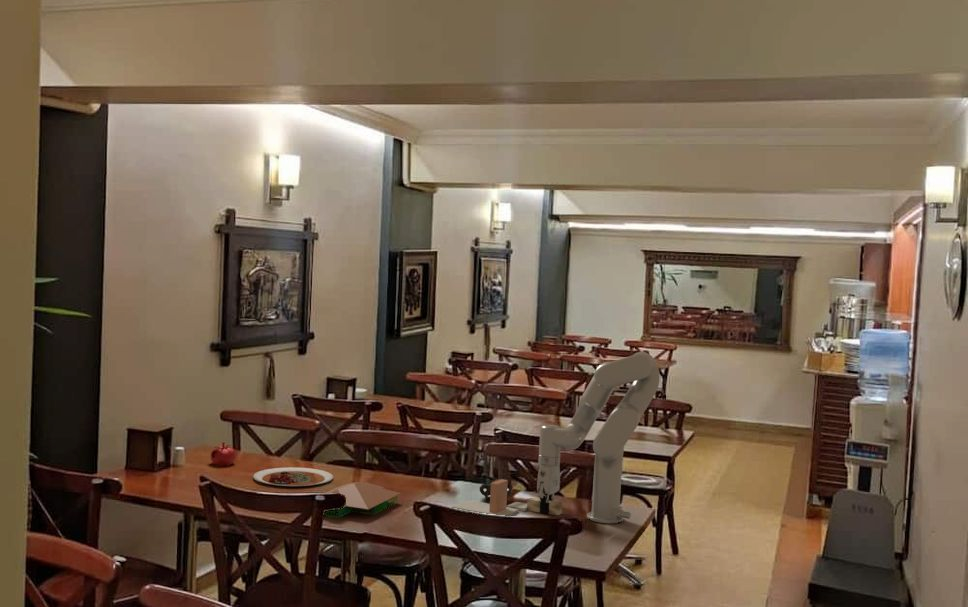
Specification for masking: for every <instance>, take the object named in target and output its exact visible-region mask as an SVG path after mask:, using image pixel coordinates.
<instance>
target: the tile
mask: <svg viewBox="0 0 968 607" xmlns="http://www.w3.org/2000/svg"><path fill="white" fill-rule="evenodd" d="M499 479H500V478H499ZM494 481H495V480H494ZM494 481H492V482H490V483H491V491H490V495H489V504H490V509H489V512H492V513H498V512H500V511H502V510H504V509H506V507H507V506H508V505H507V502H508V499H507V491H508V483H509V480H508V479H500V480H498V481H495V482H494Z"/></svg>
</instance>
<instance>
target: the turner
mask: <svg viewBox="0 0 968 607" xmlns="http://www.w3.org/2000/svg"><path fill="white" fill-rule="evenodd" d="M548 503H549V514H548V515H553V516H560V515H562V513H563V501H556V500H552V501H551V500H548ZM506 507H509V508H514V509H518V511H522V512H527V511H530V512H536V513H540V498H535V497H529V498H528V499H527V500H526V502H520V501H519V502H518V501H514V502H512V503H510V504H508V505H506Z"/></svg>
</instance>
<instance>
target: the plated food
mask: <svg viewBox="0 0 968 607" xmlns="http://www.w3.org/2000/svg"><path fill="white" fill-rule="evenodd" d="M276 473H279V474H276ZM307 473H312V474H315V475H320V476H322V477H323V478H324V480H322V481H321V482H317V483H312V484H311V483H310V482H313V481H314V480H315V479H314V478H313V477H312V476H310V475H309V474H307ZM270 474H271V475H270ZM267 475H270V478H269V480H268V481H265V480H263V479H264V477H265V476H267ZM252 478H253V479H254V480H255V481H256V482H259V483H263V484H267V485H273V486H277V487H278V486H279V487H307V486H308V487H309V486H316V485H321V484H322V485H323V484H325V483H328V482H330V481H332V480H333V479H334V475H333V474H332V473H330V472H328V471H325V470H322V469H316V468H311V467H294V466H293V467H291V466H289V467H274V468H268V469H267V468H266V469H263V470H260V471H256V472H255V473H254V474H253V476H252ZM291 483H292V484H291ZM295 483H298V484H295ZM309 483H310V484H309Z"/></svg>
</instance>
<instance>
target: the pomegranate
mask: <svg viewBox="0 0 968 607" xmlns="http://www.w3.org/2000/svg"><path fill="white" fill-rule="evenodd" d="M221 444H222V445H220V444H218V445H217V446H215V447H214V449H213V450H212V451H211V453H210V460H211V462H212V464H213V465H214V466H218V467H228V466H231V465H233V464H234V463H235V461H236V458H237V453H236V450H235V449H234V448H233V447H232V445H231V444H228V445H226V442H225V441H223V442H222V443H221Z"/></svg>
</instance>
